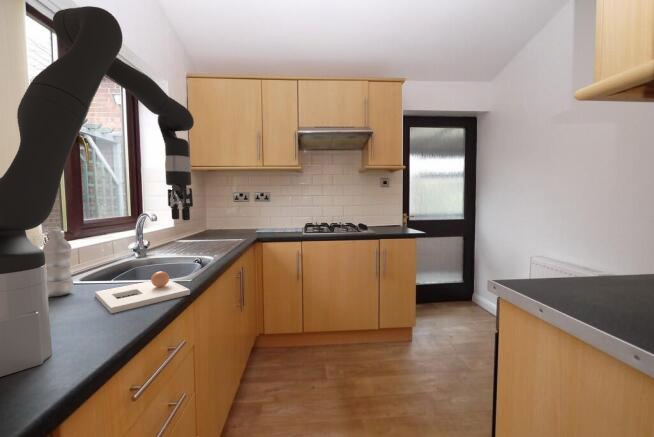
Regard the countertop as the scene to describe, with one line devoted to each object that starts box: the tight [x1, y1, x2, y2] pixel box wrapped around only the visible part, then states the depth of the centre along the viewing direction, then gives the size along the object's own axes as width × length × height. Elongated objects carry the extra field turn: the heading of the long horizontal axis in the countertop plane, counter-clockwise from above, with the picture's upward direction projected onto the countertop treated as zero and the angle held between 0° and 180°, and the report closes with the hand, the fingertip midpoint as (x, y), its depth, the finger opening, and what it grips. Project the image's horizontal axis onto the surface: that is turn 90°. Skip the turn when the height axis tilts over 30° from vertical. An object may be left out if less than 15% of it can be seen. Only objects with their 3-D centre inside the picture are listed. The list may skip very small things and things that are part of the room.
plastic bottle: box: [42, 230, 75, 297], centre depth 90 cm, size 6×7×20 cm
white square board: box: [94, 279, 191, 314], centre depth 90 cm, size 20×20×2 cm
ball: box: [150, 270, 170, 287], centre depth 93 cm, size 5×5×5 cm
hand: (180, 219), depth 98 cm, fingers open, 8 cm apart
